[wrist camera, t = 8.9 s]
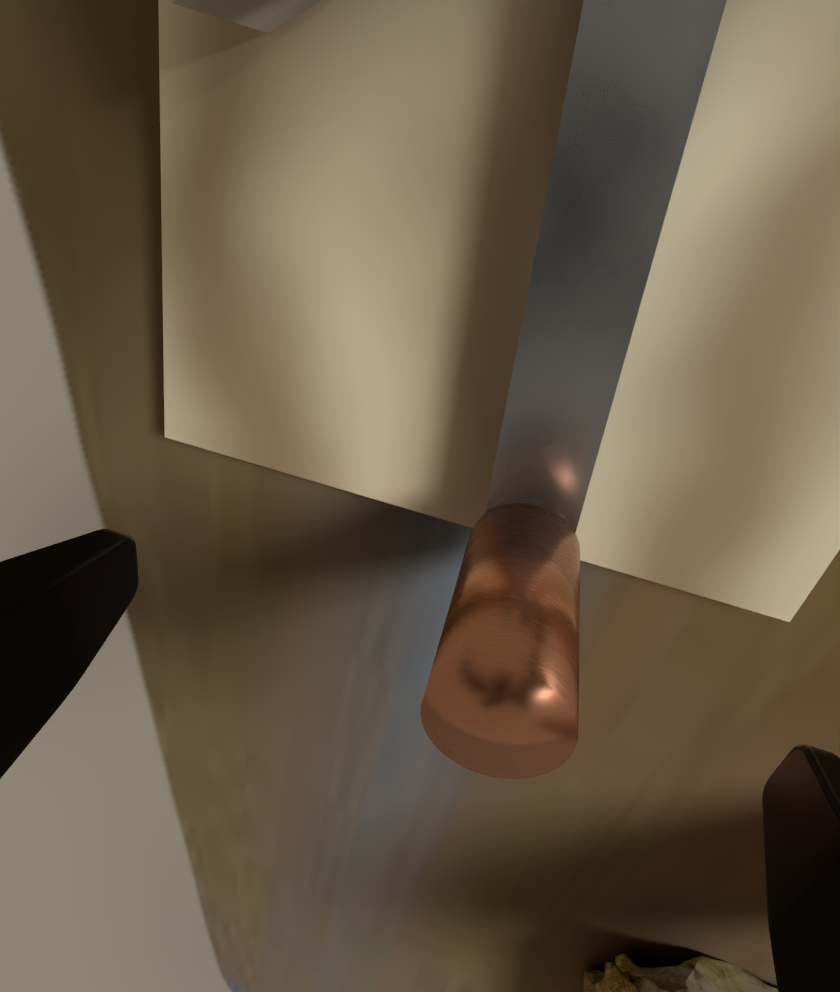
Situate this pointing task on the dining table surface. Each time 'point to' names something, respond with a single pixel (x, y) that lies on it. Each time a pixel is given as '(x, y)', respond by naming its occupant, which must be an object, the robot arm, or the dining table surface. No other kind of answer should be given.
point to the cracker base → (503, 272)
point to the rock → (673, 977)
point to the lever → (566, 387)
